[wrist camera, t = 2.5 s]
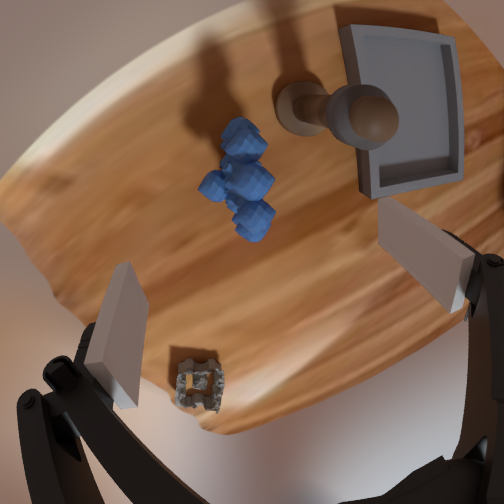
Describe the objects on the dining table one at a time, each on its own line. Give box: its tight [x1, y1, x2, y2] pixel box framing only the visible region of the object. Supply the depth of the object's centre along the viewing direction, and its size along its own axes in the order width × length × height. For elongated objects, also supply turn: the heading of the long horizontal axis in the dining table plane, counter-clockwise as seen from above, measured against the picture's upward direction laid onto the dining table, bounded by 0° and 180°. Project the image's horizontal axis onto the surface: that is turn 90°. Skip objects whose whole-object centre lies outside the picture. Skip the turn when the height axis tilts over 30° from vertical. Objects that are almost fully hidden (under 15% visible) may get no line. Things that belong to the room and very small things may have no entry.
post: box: [275, 81, 399, 150], centre depth 23 cm, size 6×6×16 cm
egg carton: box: [175, 358, 225, 413], centre depth 45 cm, size 11×8×4 cm
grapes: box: [198, 116, 276, 242], centre depth 27 cm, size 12×7×12 cm, turn 7°
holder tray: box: [338, 24, 464, 199], centre depth 30 cm, size 16×20×3 cm
